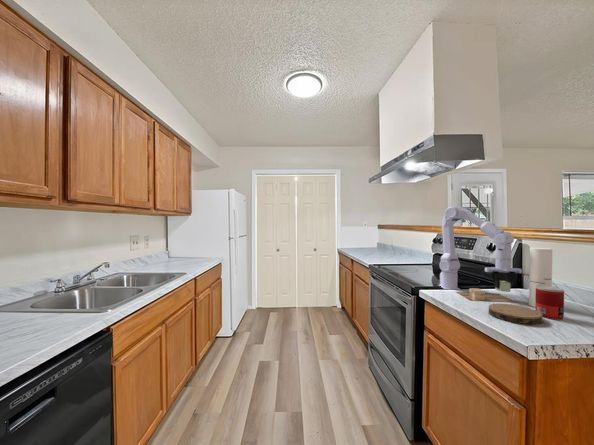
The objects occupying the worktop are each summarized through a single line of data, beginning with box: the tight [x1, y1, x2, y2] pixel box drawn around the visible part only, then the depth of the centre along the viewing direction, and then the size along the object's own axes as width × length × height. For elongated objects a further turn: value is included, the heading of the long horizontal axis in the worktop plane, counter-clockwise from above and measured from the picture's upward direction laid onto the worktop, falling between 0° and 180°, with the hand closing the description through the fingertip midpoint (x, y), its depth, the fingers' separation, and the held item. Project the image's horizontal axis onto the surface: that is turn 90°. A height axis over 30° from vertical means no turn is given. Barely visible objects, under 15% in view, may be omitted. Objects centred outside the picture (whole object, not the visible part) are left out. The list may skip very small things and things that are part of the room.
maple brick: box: [469, 288, 486, 300], centre depth 126 cm, size 4×4×4 cm
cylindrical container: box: [528, 247, 553, 308], centre depth 115 cm, size 7×7×25 cm
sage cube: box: [494, 280, 511, 293], centre depth 125 cm, size 4×4×4 cm
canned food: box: [534, 285, 565, 321], centre depth 104 cm, size 8×8×11 cm
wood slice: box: [488, 303, 543, 326], centre depth 103 cm, size 16×16×3 cm
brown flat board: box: [455, 291, 519, 304], centre depth 128 cm, size 15×20×1 cm
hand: (502, 288), depth 125 cm, fingers closed on sage cube, 4 cm apart
